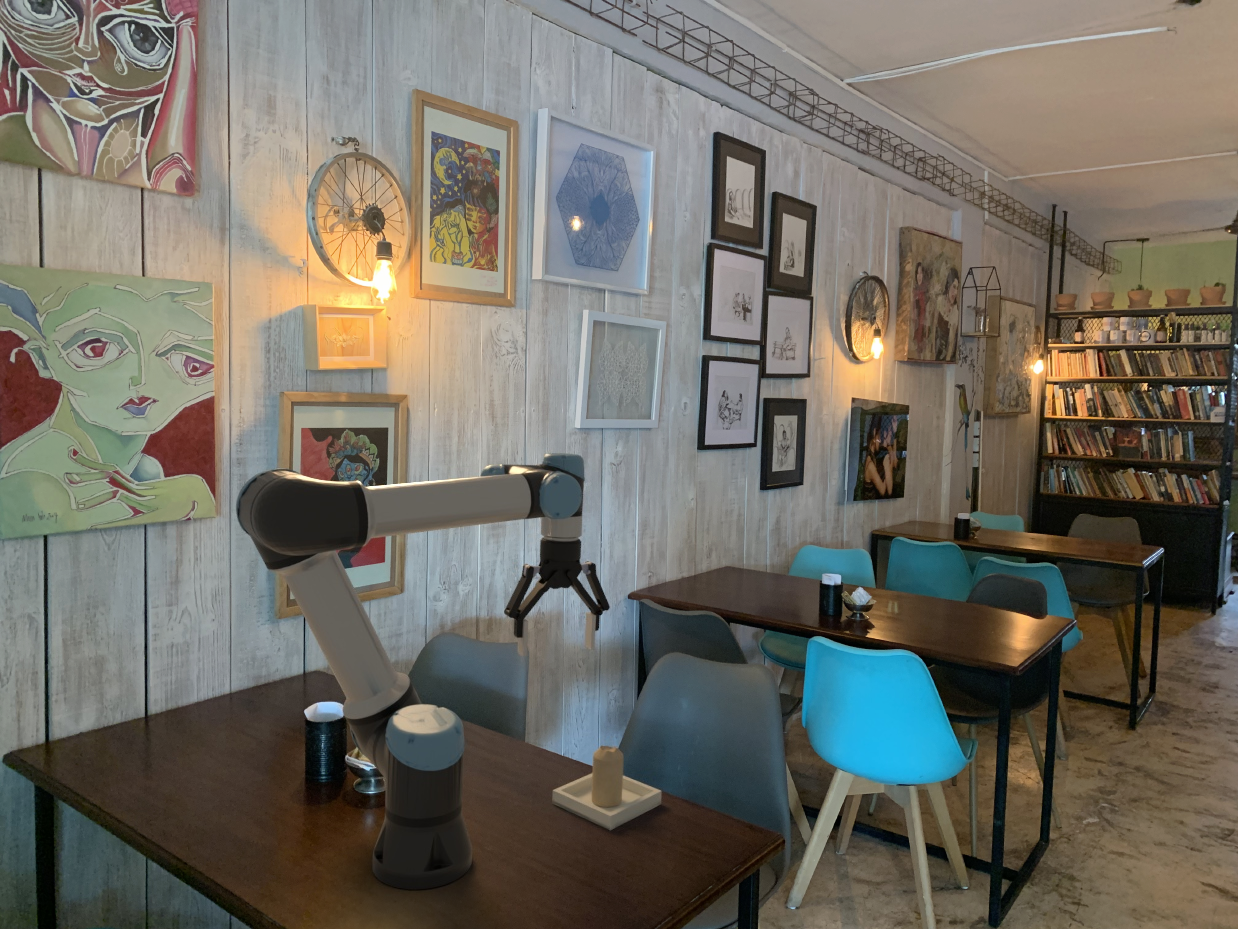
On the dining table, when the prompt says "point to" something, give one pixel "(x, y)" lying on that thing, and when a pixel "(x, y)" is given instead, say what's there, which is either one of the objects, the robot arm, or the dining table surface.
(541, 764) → the dining table surface
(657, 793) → the dish
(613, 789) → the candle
